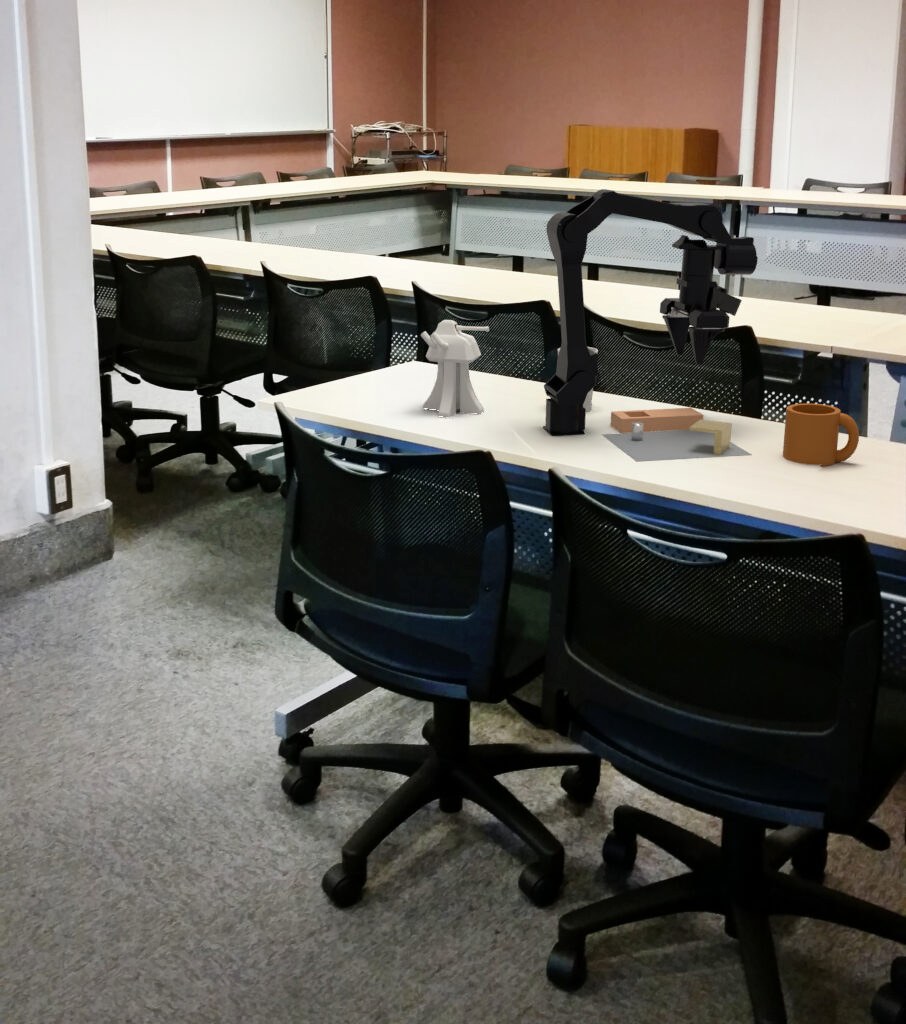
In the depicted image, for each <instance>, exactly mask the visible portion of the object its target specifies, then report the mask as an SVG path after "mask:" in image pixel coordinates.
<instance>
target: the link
mask: <svg viewBox="0 0 906 1024" xmlns="http://www.w3.org/2000/svg"><path fill="white" fill-rule="evenodd" d="M699 420H704V414H703V413H701V412H700V411H697V410H696V409H695V408H693V407H679V408H676V407H675V408H661V409H660V408H659V409H658V408H657V409H655V408H653V409H637V410H636V409H635V410H617V411H616V410H615V411H611V412H610V426H611V427H612V428H614V429H615V430H617V432H620V433H632V423H635V422H639V423H643V432H658V431H677V430H690V426H692V425H693V424H695V423H696V422H697V421H699Z"/></svg>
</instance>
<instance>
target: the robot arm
mask: <svg viewBox="0 0 906 1024" xmlns="http://www.w3.org/2000/svg"><path fill="white" fill-rule="evenodd" d="M612 214H613V215H614V214H615V215H620V216H625V217H630V218H636V219H640V220H646V221H651V222H657V223H661V224H665V225H668V226H670V227H673V228H674V229H677V230H680V231H683V232H684V233H687V234H689V235H693V236H696V237H697V236H698V237H701V238H702V239H690V238H689V236H688V235H686V234H682V235H680V236H679V238H678V239H677V240H676V241H674V242H673V243H672V244H671V247H672V248H674V249H678V250H682V261H681V272H680V273H681V274H680V277H678V278H676V283H675V284H676V285H679V296H678V297H666V298H664V299H663V300H662V301H661V302H660V306H659V314H662V316H661V317H662V319H663V320H664V323H665V325H666V328H667V331H668V334H669V336H670V339H671V341H672V345H673V347H674V351H675V354H676V355H678V356H683V355H684V351H685V347H686V344H687V339H688V334H689V338H690V342H691V347H692V352H693V357H694V362H695V364H696V365H702V364H703V363H704V361H705V357H706V355H707V354H708V351H709V348H710V346H711V344H712V342H713V340H714V338H715V337H716V336H717V335H719V334H721V332H722V333H723V332H725V329H728V328H729V325H730V316H729V315H732V316H734V317H736V314H737V313H738V311H739V308H740V305H741V303H742V299H740V298H738V297H735V296H733V295H730V294H728V291H727V288H724V287H722V286H720V285H719V284H718V282H717V281H715V280H714V279H713V278H714V271H715V270H717V271H718V273H719V274H720V275H730V276H731V275H733V276H736V275H738V276H740V275H741V276H746V275H748V276H750V275H752V274H754V272H755V271H756V268H757V265H758V256H757V255H758V254H757V249H756V246H755V243H754V241H755V238H754V237H752V236H741V237H732V236H731V235H730V233H729V231H728V229H727V227H726V226H725V225H724V223H723V221H724V219H723V213H722V211H721V210H720V208H719V207H718V206H716V205H714V204H710V203H702V202H665V201H661V200H660V201H659V200H656V199H650V198H645V197H639V196H634V195H629V194H624V193H619V192H617V191H615V190H612V189H611V190H610V189H606V188H605V189H604V188H603V189H599V190H597V191H596V192H595V193H594V194H592V195H591V196H590V197H587V199H584V200H582V201H581V202H579V203H577V204H576V205H574V206H572V207H570V208H569V209H568V210H566V211H563V212H562V211H561V212H560V211H559V212H557V213H555V214H553V215H552V216H551V218H549V220H548V221H547V224H546V228H545V229H546V235H547V240H548V244H549V247H550V248H549V249H550V251H551V253H552V256H553V259H554V262H555V265H556V272H557V287H558V288H557V289H558V304H559V319H560V332H561V333H560V334H561V345H560V347H559V348H560V351H559V355H558V354H557V362H556V371H555V373H554V374H553V375H552V376H551V378H549V379H548V381H546V382H545V383H544V385H543V388H544V391H545V394H546V396H547V397H550V398H546V400H545V426H544V425H543V426H542V429H543V430H544V431H545V432H546V433H547V434H549V436H551V437H558V436H559V437H563V436H565V437H567V436H580V435H581V436H582V435H586V432H585V430H586V413H587V412H586V409H585V408H584V407H583V404H584V401H585V399H586V396H587V394H588V392H589V391H591V389H592V388H593V389H594V387H595V386H596V383H597V377H600V372H599V370H598V364H599V363H598V361H599V355H598V354H597V353H595V352H593V351H592V350H590V349H588V347H589V346H588V344H587V340H586V339H587V338H586V336H587V335H586V321H585V320H586V319H585V304H584V302H585V301H584V285H583V283H584V282H583V269H582V268H583V267H582V266H583V261H584V258H585V254H586V252H587V246H588V244H587V243H588V234H590V233H592V232H593V231H594V230H595V229H597V228H598V227H599V226H600V225H601V224H602V223H603V222H604V221H605V220H607V218H608V217H609V216H611V215H612ZM706 241H709V242H713V243H714V242H715V243H716V244H715V245H713V244H712V245H709V244H708V243H707V242H706ZM728 314H729V315H728Z"/></svg>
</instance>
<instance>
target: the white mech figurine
mask: <svg viewBox="0 0 906 1024" xmlns="http://www.w3.org/2000/svg"><path fill="white" fill-rule="evenodd" d="M462 331H477V332H479V331H480V332H483V331H485V332H486V333H488V332H489V331H490V327H489V326H472V325H471V326H468V325H467V326H466V325H458V322H457V321H455V320H452V319H443V320H442V321H441V322H438V324H437V326H436V329H435V330H434V331H433V332H432V334H430V335H429V333H428V332H427V331H426V330H425V331H423V332H421V334H420V337H421V339H423V340H424V342H425V343H426V344H427V345H428V349H427V352H426V355H425V357H426V359H427V360H428V361H429V362H435V363H437V373H436V380H435V382H434V385H433V388H432V391H431V392H430V394H429V396H428V397H427V399H426V401H424V403H423V405H422V409H423V408H428V409H436V410H439V411H437V412H438V416H443V417H450V416H452V415H453V414H455V413H456V414H459V413H458V412H464V413H463V414H467V413H477V414H476V415H479V414H480V415H482V414H483V413H484V412H485V409H484V406H483V405H482V403H481V402H480V399H479V398H478V397H477V394H476V392H475V390H474V387H473V385H472V382H471V379H470V378H471V377H470V369H469V368H470V364H471V363H472V362H474V361H475V360H478V358H480V356H482V353H481V350H480V349H479V345H478V343H477V341H476V339H475V336H473V335H471V334H467V333H464V332H462ZM482 412H483V413H482ZM481 413H482V414H481ZM456 414H455V415H456ZM453 416H454V415H453ZM453 416H452V417H453ZM450 418H451V417H450Z"/></svg>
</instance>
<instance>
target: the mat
mask: <svg viewBox="0 0 906 1024" xmlns="http://www.w3.org/2000/svg"><path fill="white" fill-rule="evenodd" d="M631 435H632V432H630V433H621V432H620V433H606V434H605V433H603V434H601V436H602V437H604V438H605V439H606V440H608V441H609V442H610V443H612V444H613V445H614V446H616V447H617V448H618V449H620V450H621V451H622V452H623V453H625V455H627V456H629V458H631V459H633V460H634V461H635V462H637V463H638V462H640V463H641V462H654V461H670V460H671V461H672V460H690V459H704V458H706V459H707V458H709V459H711V458H724V457H741V456H742V457H743V456H744V457H745V456H752V455H753V454H752V453H750V452H748V451H746V449H743V448H741V447H740V446H738V445H736V444H735V443H733V442H732V441H730V448H729V449H727V450H726V451H725V452H724V453H723V454H721V455H714V441H715V433H708V432H700V431H692V430H690V429H688V430H668V431H649V432H643V440H642V441H632V440H631Z"/></svg>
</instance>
